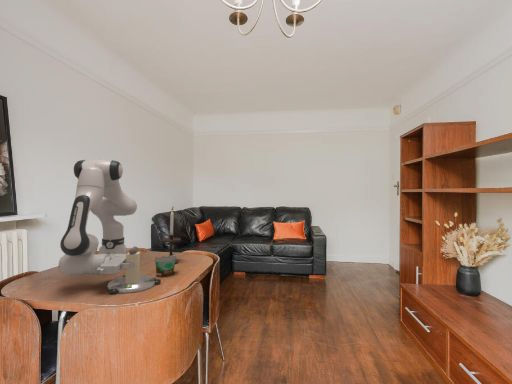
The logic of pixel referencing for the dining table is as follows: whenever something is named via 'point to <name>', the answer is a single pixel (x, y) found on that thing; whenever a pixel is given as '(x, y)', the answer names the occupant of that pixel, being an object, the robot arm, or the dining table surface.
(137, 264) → the cream bottle
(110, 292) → the levelling base
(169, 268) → the food container
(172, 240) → the candlestick
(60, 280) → the dining table surface
